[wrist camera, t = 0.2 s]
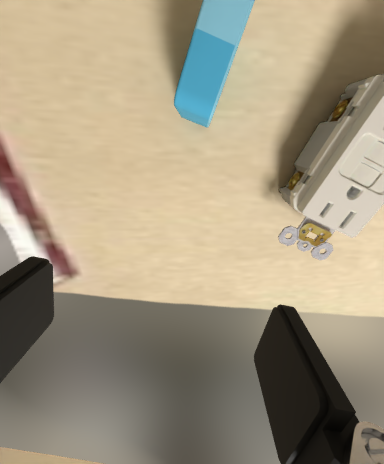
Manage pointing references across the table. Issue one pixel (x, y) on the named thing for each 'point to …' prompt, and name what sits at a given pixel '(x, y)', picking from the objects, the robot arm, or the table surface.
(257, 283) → the table surface
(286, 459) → the robot arm
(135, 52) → the table surface
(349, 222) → the electrical outlet
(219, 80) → the data package
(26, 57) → the table surface
